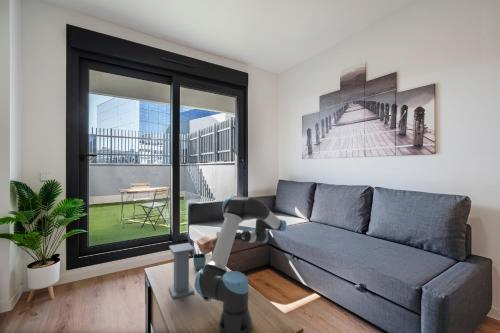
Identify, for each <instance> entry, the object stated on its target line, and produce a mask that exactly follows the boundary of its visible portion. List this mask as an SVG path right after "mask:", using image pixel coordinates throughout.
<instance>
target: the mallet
mask: <svg viewBox="0 0 500 333" xmlns="http://www.w3.org/2000/svg"><path fill="white" fill-rule="evenodd" d="M217 240H218V236H214V237H213V238H210V237H209V236H207V235H205V236H203V237H200V238H199V239H197V240H196V243H197V246H198V249H199V252H200V253H201V254H202V253H203V254H204V255H205V256H206V255H208V254H210V253H213V251H214V248H215V245H214V244H216V242H217Z"/></svg>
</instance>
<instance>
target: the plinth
mask: <svg viewBox="0 0 500 333" xmlns="http://www.w3.org/2000/svg"><path fill="white" fill-rule="evenodd" d="M168 248H169V250H170V251H171V253H172V254H173V285H170V286H168V291H169V293H170V296H171V298H172V300H174V299H177V298H178V299H179V298H182V297H185V296H190V295H192V294H193V295H194V294H195V289H194V288H193V286H192V285H191V284H190V282H189V281H190V277H189V276H190V262H189V261H190V252H192V251H195V248H194V246H193V245H192V244H191V243H190V242H185V243H179V244H178V243H177V244H172V245H168Z"/></svg>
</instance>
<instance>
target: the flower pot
mask: <svg viewBox="0 0 500 333" xmlns="http://www.w3.org/2000/svg"><path fill="white" fill-rule="evenodd" d="M192 257H193V258H192V261H193V266H194V269H195V271H198V270H200V269H203V268H205V265H206V261H207V260H206V259H207V256H206V255H204V254H203V253H202V252H201V253H195V254H194V253H193V255H192Z"/></svg>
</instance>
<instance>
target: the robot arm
mask: <svg viewBox="0 0 500 333" xmlns="http://www.w3.org/2000/svg"><path fill="white" fill-rule="evenodd" d="M221 211H222V214H223V215H222V216H223V218H224V220H223V222H222V226H221V228H220V231H216V235H215V237H217V236H218V240H217V242H216V243H215V245H214V251H212V255H211V256H210V259H209V262H207V263H205V266H204V268H203V269H199V271H198V270H197V273H196V275H195V280H194V287H195V289H194V290H195V292H196V293H197V294H198V295H199V296H202V297H204V298H209V299H211V300H215V301H218V302H222V312H221V314H220V318H219V321H218V329H219V332H220V333H250V332H251V331H252V327H253V324H252V323H253V320H252V316H251V314H250V311H249V289H250V288H249V280H248V277H247V275H245V274H244V273H242V272H240V271H237V270H234V271H232V270H229V271H228V270H227V264H228V260H229V258H230V254H231V251H232V248H233V244H234V241H235V240H238V241H240V240H241V242H243V243H250V244H251V243H257V244H265V243H267V242H268V240H269V234H268V232H266V230H271V231H277V232H285V231H286V230H287V222H286V220H284V219H280V218H279V217H277V215H275V214H274V213H273V212H272V211H271V210H270V208H269V206H268V205H267V204H266V203H264V202H263V201H261V200H260V199H257V198H255V197H252V196H238V195H233V196H232V195H230V196H227V197H226V198H225V199H224V200H223V203H222V207H221ZM244 218H245V219H246V218H248V219H256V220H255V227H254V228H255V231H254V230H243V231H242V232H239V231H238V229H239V225H240V224H241V223H243V221H244Z"/></svg>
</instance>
